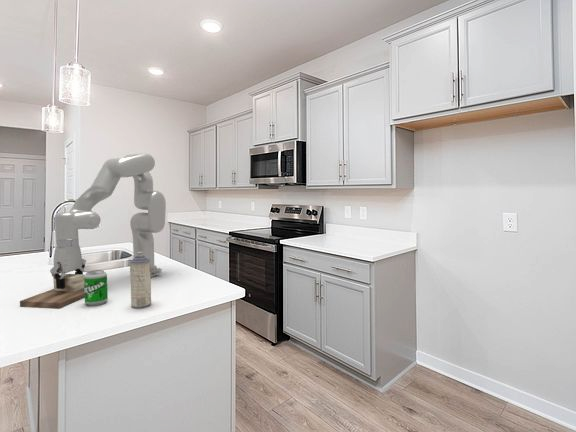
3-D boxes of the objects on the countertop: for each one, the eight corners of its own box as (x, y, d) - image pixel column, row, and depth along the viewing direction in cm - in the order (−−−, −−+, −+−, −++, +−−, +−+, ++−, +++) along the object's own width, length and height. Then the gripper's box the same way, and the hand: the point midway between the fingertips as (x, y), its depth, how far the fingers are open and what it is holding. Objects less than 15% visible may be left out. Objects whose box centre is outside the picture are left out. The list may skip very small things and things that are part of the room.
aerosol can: (154, 304, 122) (153, 252, 121) (137, 309, 117) (135, 254, 115) (145, 300, 126) (143, 249, 125) (127, 305, 121) (125, 252, 119)
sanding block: (84, 288, 135) (84, 274, 134) (74, 292, 129) (74, 278, 129) (64, 287, 136) (64, 273, 135) (54, 291, 130) (53, 277, 130)
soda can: (91, 300, 127) (90, 269, 126) (111, 299, 128) (110, 269, 127) (80, 306, 120) (79, 274, 119) (102, 306, 120) (100, 274, 119)
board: (101, 290, 140) (101, 285, 139) (59, 308, 118) (59, 303, 118) (67, 288, 141) (66, 284, 141) (20, 306, 120) (19, 301, 119)
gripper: (75, 239, 140) (77, 278, 142) (40, 247, 123) (43, 291, 124) (91, 239, 139) (93, 279, 141) (58, 247, 122) (61, 292, 124)
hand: (70, 284), depth 133 cm, fingers open, 9 cm apart
